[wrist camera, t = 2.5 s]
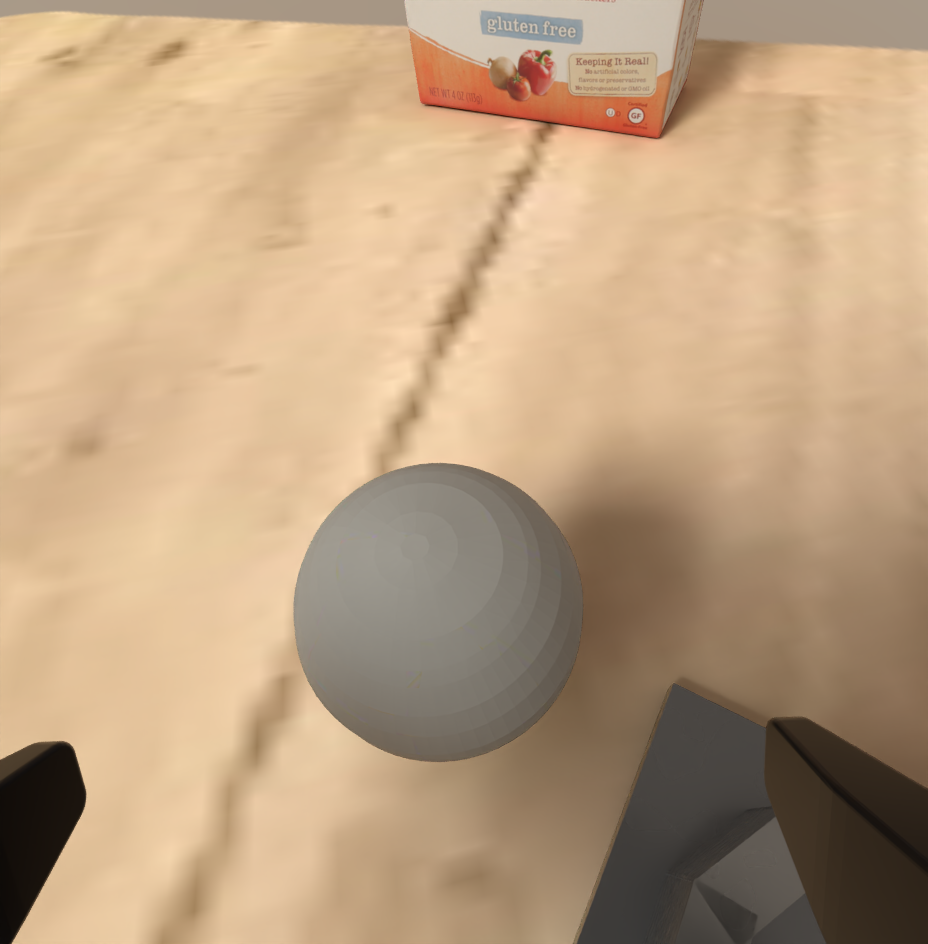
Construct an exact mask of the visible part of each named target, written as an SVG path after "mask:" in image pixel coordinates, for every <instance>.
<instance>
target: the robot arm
mask: <svg viewBox="0 0 928 944" xmlns="http://www.w3.org/2000/svg"><path fill="white" fill-rule="evenodd" d="M764 780H765V787H766V791H767V794H768V797H769V800H770V803H771V805H772V808H773V810H774V813H775V816H776V818H777V821H778V823H779V826H780V829H781V831H782V834H783V836H784V839H785V842H786V844H787V847H788V849H789V852H790V854H791V857H792V860H793V862H794V865H795V867H796V870H797V873H798V875H799V878H800V880H801V883H802V886H803V888H804V891H805V893H806V896H807V898H808V901H809V904H810V906H811V909H812V911H813V914H814V916H815V919H816V921H817V923H818V926H819V928H820V931H821V933H822V935H823V938H824V940H825V942H826V944H928V789H927V788H925V787H924V786H922V785H920V784H919V783H917V782H915V781H914V780H912V779H910V778H908V777H907V776H905V775H903V774H902V773H900V772H898V771H896V770H895V769H893V768H891V767H890V766H888V765H886V764H885V763H883V762H881V761H879V760H878V759H876V758H874V757H873V756H871V755H869V754H867V753H866V752H864V751H862V750H861V749H859V748H857V747H856V746H854V745H852V744H850V743H849V742H847V741H845V740H844V739H842V738H840V737H838V736H837V735H835V734H833V733H832V732H830V731H828V730H827V729H825V728H823V727H821V726H820V725H818V724H816V723H815V722H813V721H811V720H809V719H807V718H805V717H776V718H772V719H771V720H769V721H768V724H767V727H766V739H765V763H764ZM85 803H86V789H85V785H84V782H83V778H82V775H81V771H80V768H79V764H78V761H77V757H76V753H75V750H74V748H73V747H72V746H71V745H70V744H69V743H67V742H64V741H53V742H38V743H34V744H31V745H29V746H27V747H25V748H23V749H21V750H19V751H17V752H15V753H13V754H11V755H9V756H7V757H5V758H3V759H1V760H0V944H12V942H13V940H14V939H15V937H16V935H17V933H18V932H19V930H20V928H21V926H22V924H23V923H24V921H25V919H26V917H27V916H28V914H29V912H30V910H31V908H32V906H33V904H34V902H35V901H36V899H37V897H38V895H39V893H40V891H41V889H42V888H43V886H44V884H45V882H46V880H47V878H48V876H49V875H50V873H51V871H52V869H53V867H54V865H55V863H56V861H57V860H58V858H59V856H60V854H61V852H62V850H63V848H64V847H65V845H66V843H67V841H68V839H69V837H70V835H71V834H72V832H73V830H74V828H75V826H76V824H77V822H78V820H79V819H80V817H81V815H82V813H83V810H84V807H85Z"/></svg>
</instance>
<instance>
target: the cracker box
mask: <svg viewBox="0 0 928 944" xmlns="http://www.w3.org/2000/svg"><path fill="white" fill-rule="evenodd" d="M703 1H704V0H404V3H405V9H406V16H407V22H408V28H409V33H410V40H411V47H412V53H413V59H414V65H415V70H416V77H417V83H418V90H419V96H420V101H421V103H422V104H430V105H437V106H444V107H451V108H458V109H465V110H472V111H478V112H485V113H492V114H499V115H505V116H512V117H519V118H526V119H533V120H540V121H546V122H554V123H560V124H566V125H573V126H580V127H587V128H593V129H600V130H606V131H613V132H620V133H626V134H633V135H640V136H646V137H652V138H658V137H659V136H660V135H661V133H662V130H663V128H664V126H665V124H666V122H667V120H668V118H669V116H670V114H671V112H672V110H673V108H674V105H675V103H676V101H677V99H678V97H679V95H680V93H681V91H682V88H683V86H684V84H685V82H686V80H687V76H688V72H689V68H690V63H691V58H692V53H693V49H694V44H695V40H696V35H697V29H698V25H699V20H700V15H701V10H702V5H703Z"/></svg>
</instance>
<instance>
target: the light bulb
mask: <svg viewBox="0 0 928 944" xmlns="http://www.w3.org/2000/svg"><path fill="white" fill-rule="evenodd" d="M582 619H583V593H582V586H581V579H580V575H579V571H578V567H577V564H576V561H575V558H574V556H573V553H572V551H571V549H570V547H569V545H568V543H567V541H566V539H565V538H564V536H563V534H562V533H561V531H560V530H559V528H558V527H557V526H556V524H555V523H554V522H553V521H552V519H551V518H550V517H549V516H548V515H547V513H546V512H545V511H544V510H543V509H542V508H541V507H540V506H539V505H538V504H537V503H536V501H534V500H533V499H532V498H531V497H530V496H529V495H527V494H526V493H525V492H524V491H522V490H521V489H519V488H518V487H517V486H515V485H513V484H511V483H510V482H508V481H506V480H504V479H502V478H500V477H498V476H495V475H493V474H490V473H488V472H485V471H482V470H479V469H476V468H472V467H468V466H464V465H457V464H447V463H429V464H419V465H414V466H408V467H405V468H401V469H397V470H394V471H391V472H389V473H386V474H384V475H381V476H379V477H377V478H375V479H373V480H371V481H369V482H368V483H366V484H364V485H363V486H361V487H360V488H358V489H357V490H355V491H354V492H353V493H351V494H350V495H349V496H348V497H346V498H345V499H344V500H343V501H342V502H341V503H340V504H339V505H338V506H337V507H336V508H335V509H334V510H333V511H332V512H331V513H330V514H329V515H328V517H327V518H326V519H325V521H324V522H323V523H322V525H321V526H320V528H319V529H318V531H317V532H316V534H315V536H314V538H313V540H312V542H311V544H310V546H309V548H308V550H307V552H306V555H305V557H304V560H303V562H302V565H301V568H300V571H299V574H298V578H297V583H296V588H295V595H294V626H295V636H296V644H297V649H298V654H299V658H300V661H301V664H302V667H303V670H304V673H305V675H306V677H307V679H308V682H309V684H310V685H311V687H312V689H313V691H314V692H315V694H316V696H317V697H318V698H319V700H320V701H321V702H322V704H323V705H324V706H325V708H326V709H327V710H328V711H329V712H330V713H331V714H332V715H333V716H334V717H335V718H336V719H337V720H338V721H339V722H340V723H342V724H343V725H344V726H345V727H346V728H348V729H349V730H351V731H352V732H353V733H355V734H356V735H358V736H359V737H361V738H362V739H364V740H365V741H366V742H368V743H370V744H371V745H373V746H375V747H377V748H379V749H381V750H383V751H386V752H388V753H391V754H393V755H396V756H400V757H404V758H407V759H413V760H419V761H429V762H445V761H457V760H462V759H468V758H472V757H475V756H479V755H482V754H485V753H488V752H490V751H493V750H495V749H497V748H500V747H501V746H503V745H505V744H507V743H509V742H511V741H512V740H514V739H515V738H517V737H518V736H520V735H521V734H523V733H524V732H525V731H527V730H528V729H529V728H530V727H531V726H532V725H534V724H535V723H536V722H537V721H538V720H539V719H540V718H541V717H542V716H543V715H544V714H545V713H546V712H547V710H548V709H549V708H550V707H551V705H552V704H553V703H554V701H555V700H556V699H557V697H558V696H559V694H560V692H561V691H562V689H563V688H564V686H565V684H566V682H567V680H568V678H569V676H570V673H571V671H572V668H573V665H574V663H575V660H576V656H577V652H578V648H579V643H580V637H581V629H582Z"/></svg>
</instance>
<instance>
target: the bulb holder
mask: <svg viewBox="0 0 928 944" xmlns="http://www.w3.org/2000/svg"><path fill="white" fill-rule="evenodd" d="M765 739H766V728H764V727H762V726H760V725H758V724H756V723H754V722H752V721H750V720H748V719H746V718H744V717H742V716H740V715H738V714H736V713H734V712H732V711H730V710H728V709H726V708H724V707H722V706H719V705H717V704H715V703H713V702H711V701H709V700H707V699H705V698H703V697H701V696H699V695H697V694H695V693H693V692H691V691H689V690H687V689H685V688H683V687H681V686H679V685H677V684H675V683H673V684H672V685H671V687H670V688H669V689H668V691H667V694H666V696H665V699H664V702H663V704H662V707H661V710H660V713H659V715H658V718H657V721H656V723H655V726H654V729H653V731H652V734H651V737H650V739H649V742H648V745H647V747H646V750H645V753H644V755H643V758H642V761H641V763H640V766H639V769H638V771H637V774H636V777H635V779H634V782H633V785H632V787H631V790H630V793H629V795H628V798H627V801H626V803H625V806H624V809H623V811H622V814H621V817H620V819H619V822H618V825H617V827H616V830H615V833H614V835H613V838H612V841H611V843H610V846H609V849H608V851H607V854H606V857H605V859H604V862H603V865H602V868H601V870H600V873H599V876H598V878H597V881H596V884H595V886H594V889H593V892H592V894H591V897H590V900H589V902H588V905H587V908H586V910H585V913H584V916H583V918H582V921H581V924H580V926H579V929H578V932H577V934H576V937H575V940H574V942H573V944H826V942H825V940H824V938H823V935H822V933H821V931H820V928H819V926H818V923H817V921H816V919H815V916H814V914H813V911H812V909H811V906H810V904H809V901H808V898H807V896H806V893H805V891H804V888H803V886H802V883H801V880H800V878H799V875H798V873H797V870H796V867H795V865H794V862H793V860H792V857H791V854H790V852H789V849H788V847H787V844H786V842H785V839H784V836H783V834H782V831H781V829H780V826H779V823H778V821H777V818H776V816H775V813H774V810H773V808H772V805H771V803H770V800H769V797H768V794H767V791H766V787H765V780H764V763H765Z"/></svg>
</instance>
